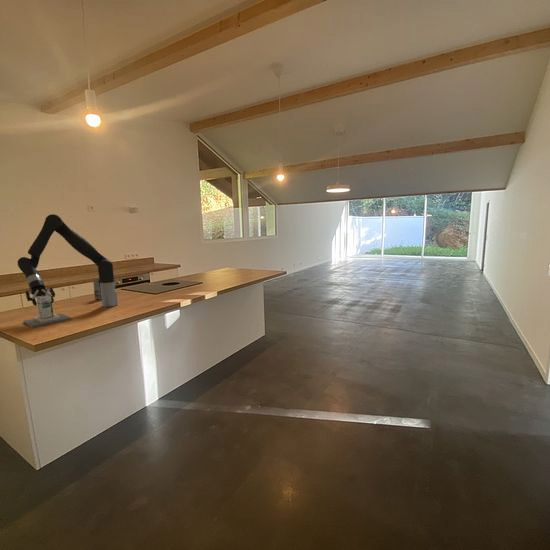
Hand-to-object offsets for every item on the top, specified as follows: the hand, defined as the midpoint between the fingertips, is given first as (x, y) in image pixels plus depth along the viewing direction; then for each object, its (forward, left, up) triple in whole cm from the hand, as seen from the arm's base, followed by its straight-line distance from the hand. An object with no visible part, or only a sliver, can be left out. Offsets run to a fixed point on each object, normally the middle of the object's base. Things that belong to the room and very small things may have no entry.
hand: (44, 303), depth 197 cm
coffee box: (-49, -37, -11) cm, 62 cm away
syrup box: (0, +2, -10) cm, 10 cm away
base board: (0, +2, -11) cm, 11 cm away
